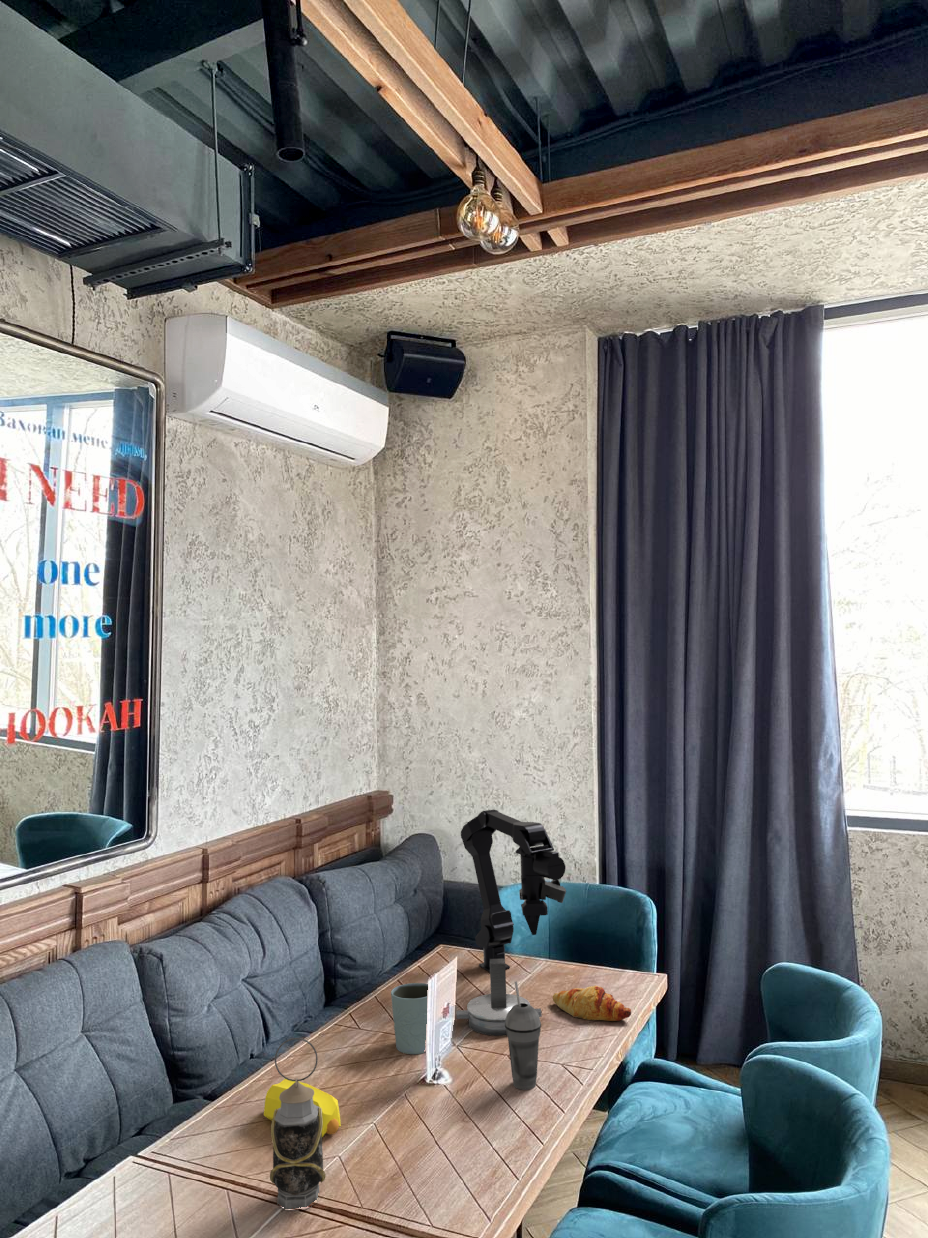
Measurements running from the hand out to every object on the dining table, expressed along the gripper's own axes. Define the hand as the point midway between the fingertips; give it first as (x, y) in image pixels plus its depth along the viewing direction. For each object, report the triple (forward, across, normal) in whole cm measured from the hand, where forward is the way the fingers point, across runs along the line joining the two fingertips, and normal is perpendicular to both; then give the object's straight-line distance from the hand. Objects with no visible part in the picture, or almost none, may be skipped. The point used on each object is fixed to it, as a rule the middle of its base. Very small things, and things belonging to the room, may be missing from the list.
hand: (534, 934), depth 237 cm
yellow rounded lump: (+14, -68, +47) cm, 84 cm away
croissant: (+14, -18, -12) cm, 26 cm away
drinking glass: (+13, -35, +29) cm, 47 cm away
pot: (+13, -24, +10) cm, 29 cm away
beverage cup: (+14, -54, +6) cm, 56 cm away
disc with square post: (+10, -23, +10) cm, 27 cm away
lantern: (+14, -92, +43) cm, 102 cm away
